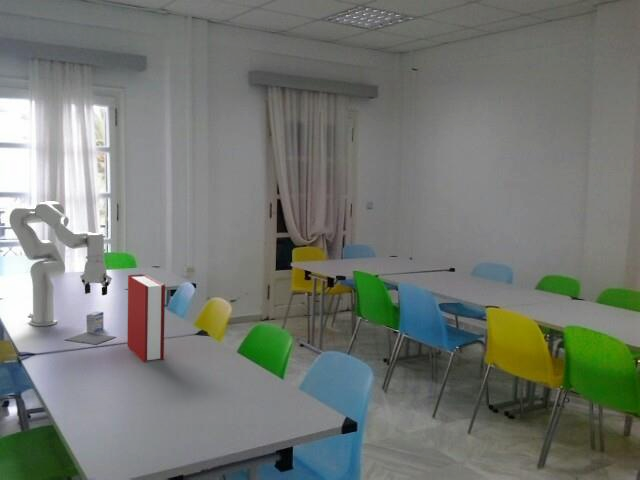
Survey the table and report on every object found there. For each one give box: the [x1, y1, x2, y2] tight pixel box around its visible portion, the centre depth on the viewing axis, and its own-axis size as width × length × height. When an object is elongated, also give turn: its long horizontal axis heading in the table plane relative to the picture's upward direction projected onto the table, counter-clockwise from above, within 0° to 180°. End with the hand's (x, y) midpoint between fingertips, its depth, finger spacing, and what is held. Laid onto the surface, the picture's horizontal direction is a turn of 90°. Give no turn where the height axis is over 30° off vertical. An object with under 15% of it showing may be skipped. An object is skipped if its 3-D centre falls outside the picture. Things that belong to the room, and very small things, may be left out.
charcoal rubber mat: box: [64, 332, 117, 346], centre depth 276 cm, size 17×14×1 cm
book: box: [126, 273, 166, 363], centre depth 258 cm, size 27×8×32 cm, turn 33°
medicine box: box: [86, 311, 104, 334], centre depth 291 cm, size 8×4×9 cm, turn 168°
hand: (96, 294), depth 289 cm, fingers open, 9 cm apart
